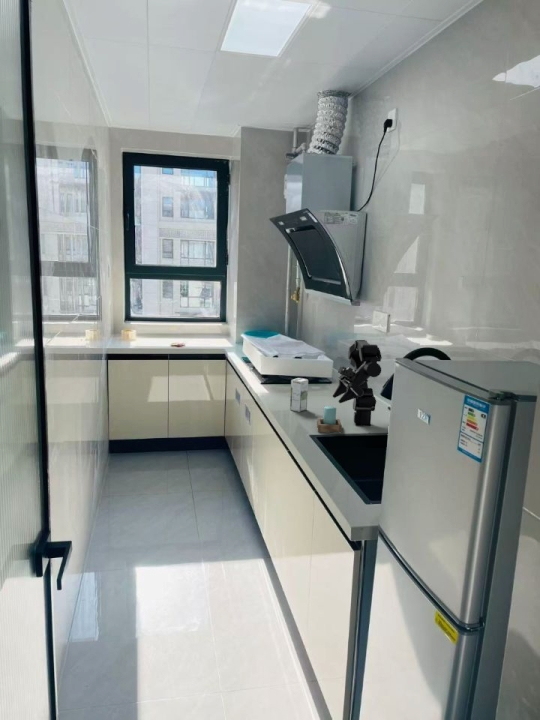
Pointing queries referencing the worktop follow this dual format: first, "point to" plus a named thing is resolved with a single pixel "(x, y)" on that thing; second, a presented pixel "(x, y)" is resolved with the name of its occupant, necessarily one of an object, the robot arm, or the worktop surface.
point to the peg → (329, 415)
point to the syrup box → (299, 394)
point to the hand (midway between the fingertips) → (336, 399)
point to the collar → (329, 426)
